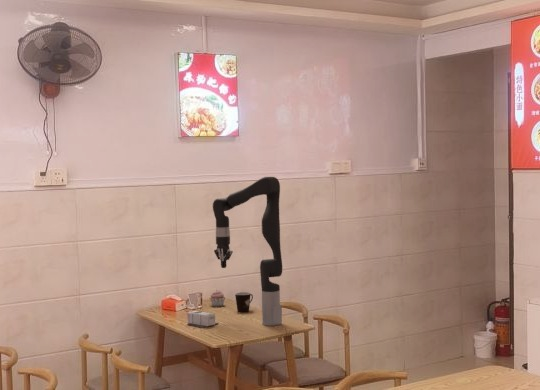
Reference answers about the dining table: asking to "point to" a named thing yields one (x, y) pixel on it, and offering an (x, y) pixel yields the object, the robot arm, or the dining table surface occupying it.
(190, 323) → the mat
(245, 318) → the dining table surface
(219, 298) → the cupcake
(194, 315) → the syrup box
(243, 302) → the coffee mug
